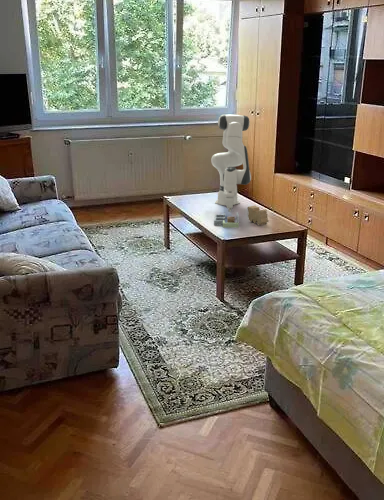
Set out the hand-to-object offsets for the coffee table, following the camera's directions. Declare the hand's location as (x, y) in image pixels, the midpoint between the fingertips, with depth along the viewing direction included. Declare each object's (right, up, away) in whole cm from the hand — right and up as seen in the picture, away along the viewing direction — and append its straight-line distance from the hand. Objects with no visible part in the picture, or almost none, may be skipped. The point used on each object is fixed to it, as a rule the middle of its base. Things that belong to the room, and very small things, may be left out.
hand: (229, 211), depth 356 cm
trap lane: (-2, -8, -2) cm, 8 cm away
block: (0, -10, -8) cm, 13 cm away
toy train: (+18, -9, -5) cm, 21 cm away
